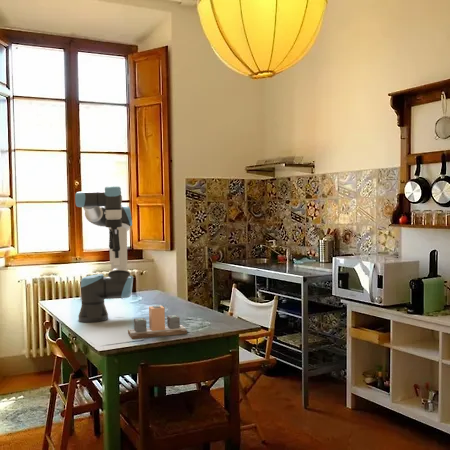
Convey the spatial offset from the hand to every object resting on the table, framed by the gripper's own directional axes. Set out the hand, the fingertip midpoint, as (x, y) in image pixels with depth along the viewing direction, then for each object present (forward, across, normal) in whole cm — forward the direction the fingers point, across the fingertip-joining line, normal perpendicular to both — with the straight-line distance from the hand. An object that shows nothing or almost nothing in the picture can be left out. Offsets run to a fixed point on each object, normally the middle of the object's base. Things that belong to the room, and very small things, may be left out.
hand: (114, 263), depth 252 cm
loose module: (+30, +15, +16) cm, 37 cm away
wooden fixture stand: (+32, +15, +16) cm, 39 cm away
